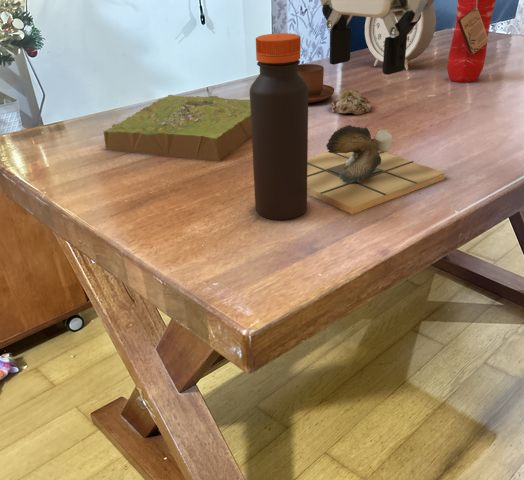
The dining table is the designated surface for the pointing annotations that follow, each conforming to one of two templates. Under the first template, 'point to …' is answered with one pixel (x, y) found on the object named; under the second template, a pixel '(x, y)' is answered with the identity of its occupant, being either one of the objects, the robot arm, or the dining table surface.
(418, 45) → the alarm clock
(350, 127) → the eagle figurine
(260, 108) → the vinegar
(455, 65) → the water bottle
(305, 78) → the cup and saucer
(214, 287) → the dining table surface
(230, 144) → the miniature landscape model
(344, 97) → the mineral rock
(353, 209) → the board
